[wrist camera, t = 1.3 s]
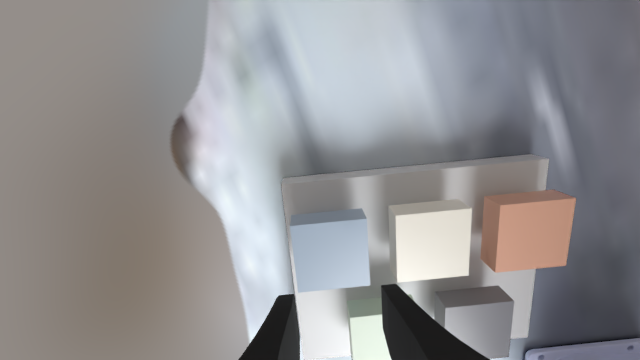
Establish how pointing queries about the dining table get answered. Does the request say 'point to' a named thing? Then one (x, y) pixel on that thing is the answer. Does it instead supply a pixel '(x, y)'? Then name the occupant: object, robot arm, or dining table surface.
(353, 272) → the slate blue key
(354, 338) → the sage key
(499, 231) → the terracotta key
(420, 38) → the dining table surface
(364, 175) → the light grey tray
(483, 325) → the grey key
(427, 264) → the cream key
